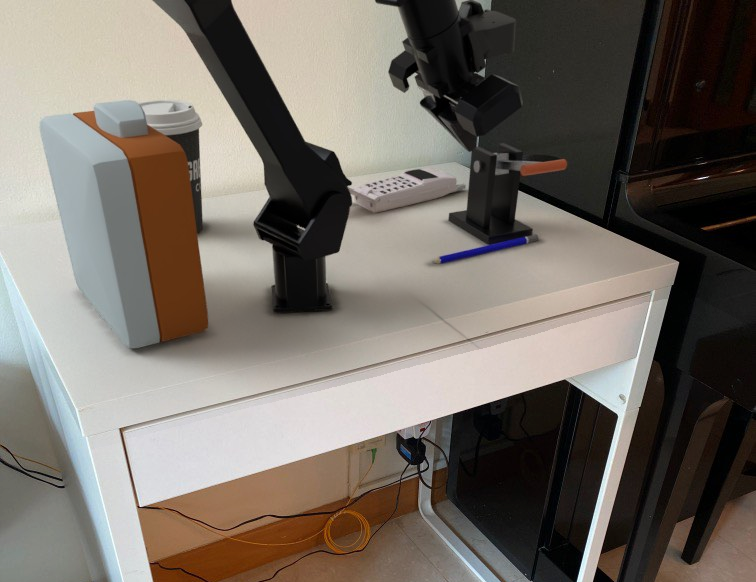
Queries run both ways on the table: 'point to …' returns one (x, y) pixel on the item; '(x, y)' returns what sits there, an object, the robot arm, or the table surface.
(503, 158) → the switch lever
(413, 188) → the mobile phone
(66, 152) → the alarm clock
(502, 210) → the switch bracket
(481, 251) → the pencil
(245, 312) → the table surface
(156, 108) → the coffee cup
